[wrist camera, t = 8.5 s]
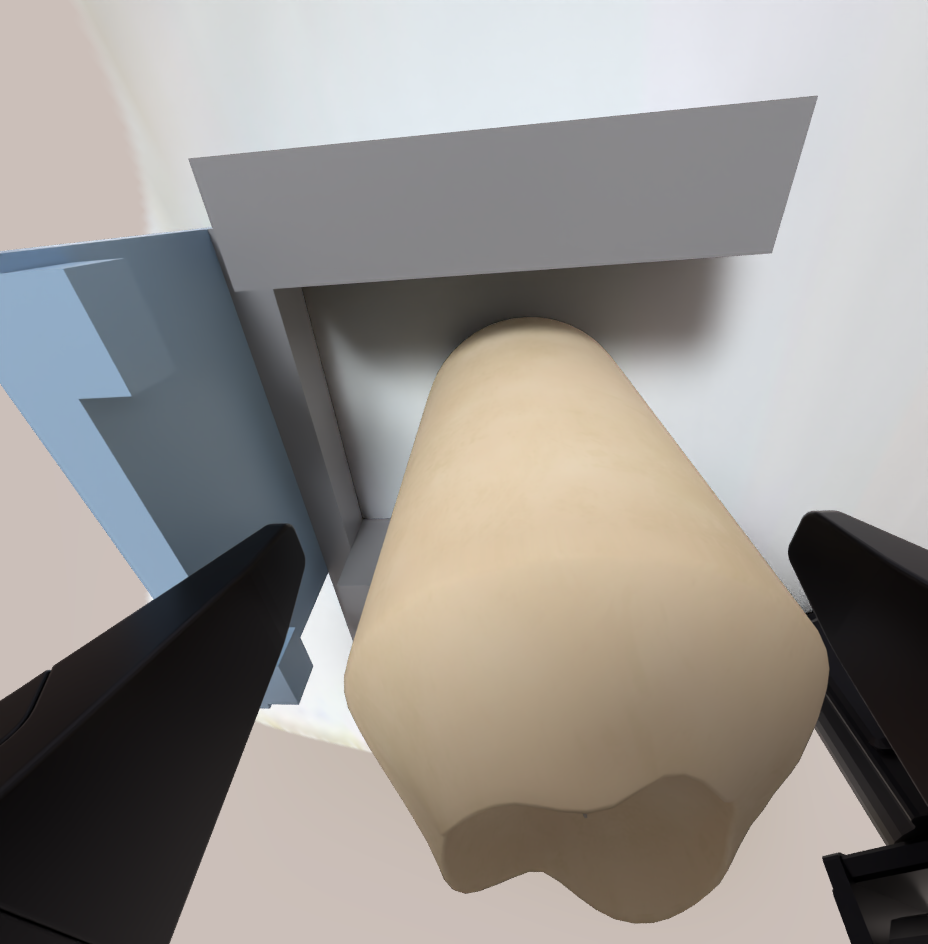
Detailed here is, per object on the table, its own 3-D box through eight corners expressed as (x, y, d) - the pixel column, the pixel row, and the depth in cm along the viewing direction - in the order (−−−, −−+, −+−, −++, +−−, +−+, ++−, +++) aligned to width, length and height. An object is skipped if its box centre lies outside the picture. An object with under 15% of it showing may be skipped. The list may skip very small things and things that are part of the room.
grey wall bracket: (602, 704, 20) (639, 869, 15) (372, 701, 21) (336, 856, 16) (720, 124, 8) (1056, 22, 3) (184, 176, 9) (-163, 155, 4)
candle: (649, 440, 12) (972, 936, 4) (490, 513, 14) (490, 958, 6) (571, 268, 10) (968, 621, 2) (390, 381, 12) (157, 822, 4)
